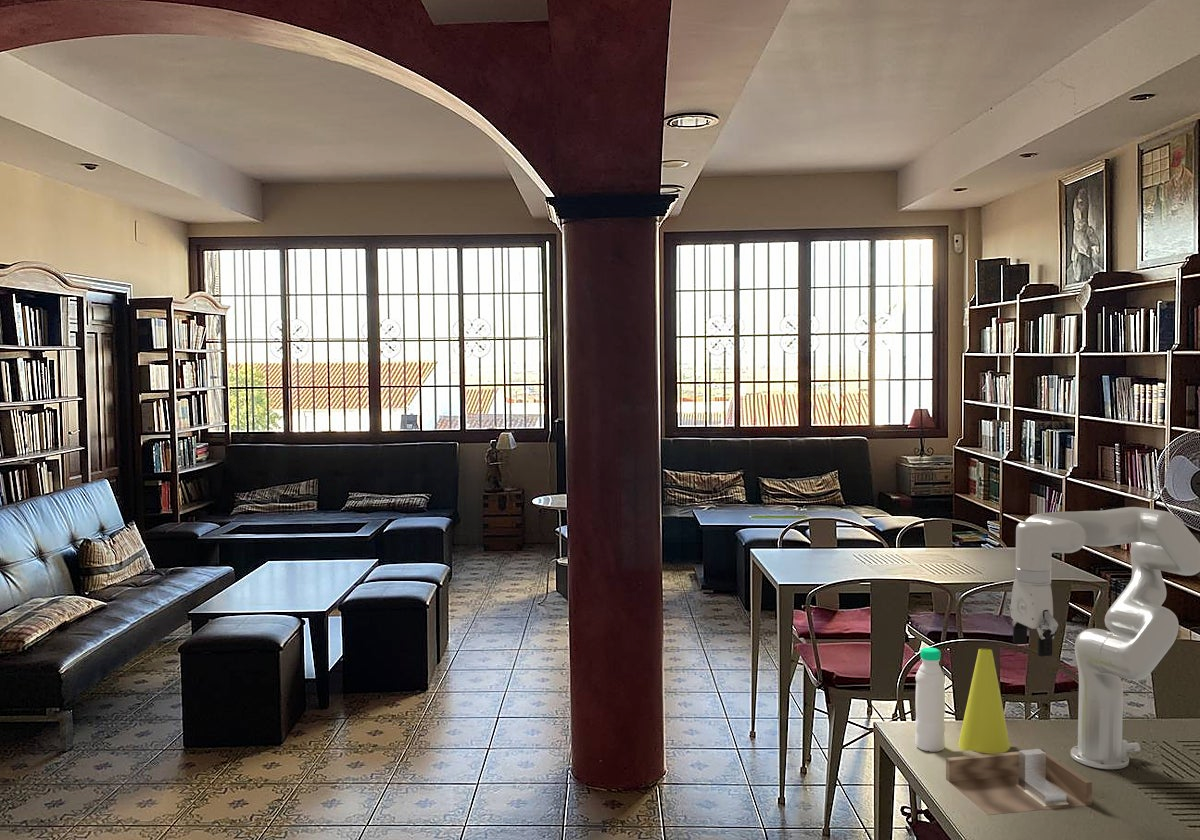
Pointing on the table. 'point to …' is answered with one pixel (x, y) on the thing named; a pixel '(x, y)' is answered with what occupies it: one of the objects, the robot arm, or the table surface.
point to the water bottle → (930, 702)
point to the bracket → (1037, 777)
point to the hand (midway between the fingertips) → (1032, 649)
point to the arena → (1012, 783)
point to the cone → (984, 710)
